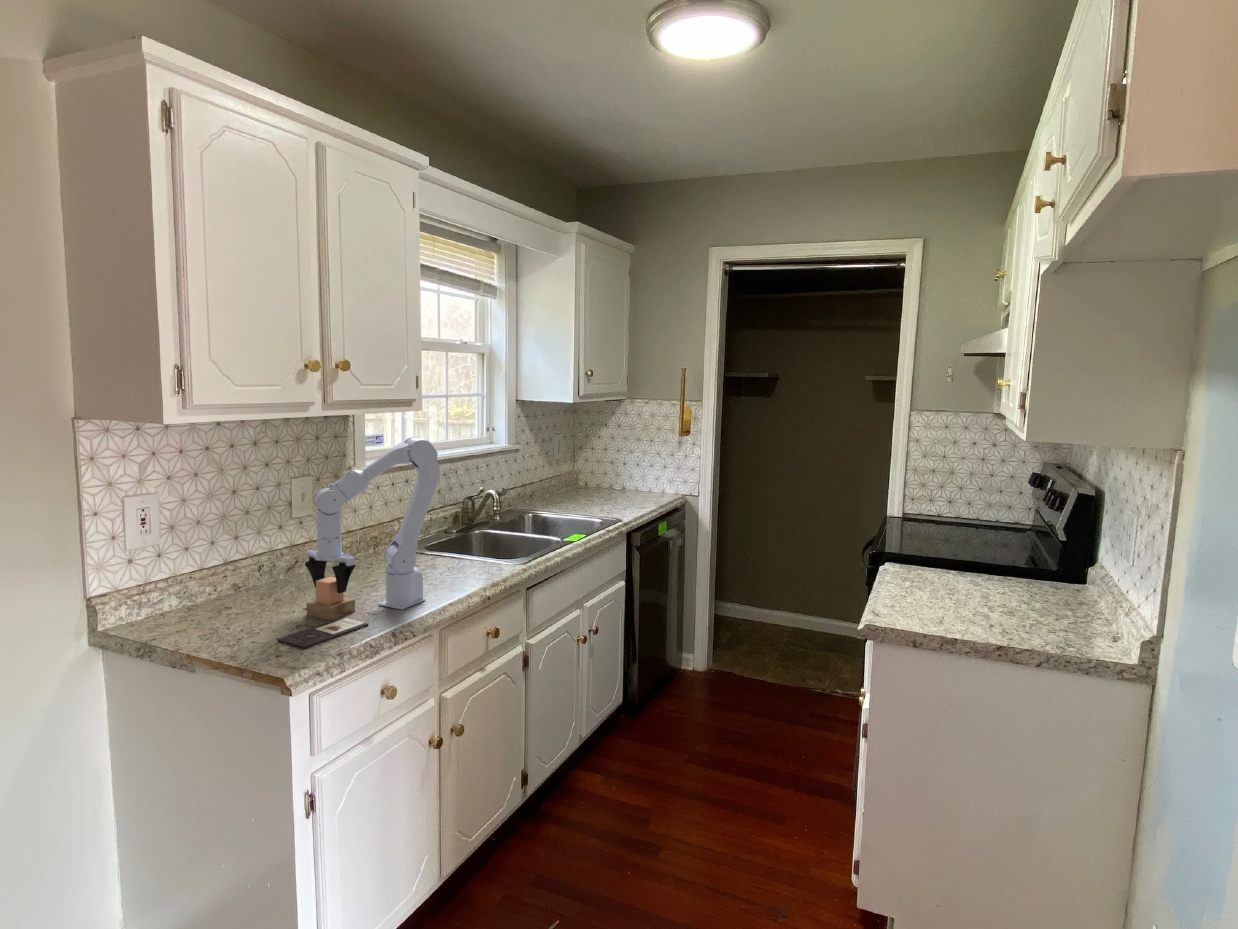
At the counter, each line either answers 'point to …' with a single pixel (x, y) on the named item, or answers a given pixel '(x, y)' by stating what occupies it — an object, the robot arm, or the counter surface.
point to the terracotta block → (327, 591)
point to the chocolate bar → (322, 633)
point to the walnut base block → (331, 609)
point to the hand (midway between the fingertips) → (330, 590)
